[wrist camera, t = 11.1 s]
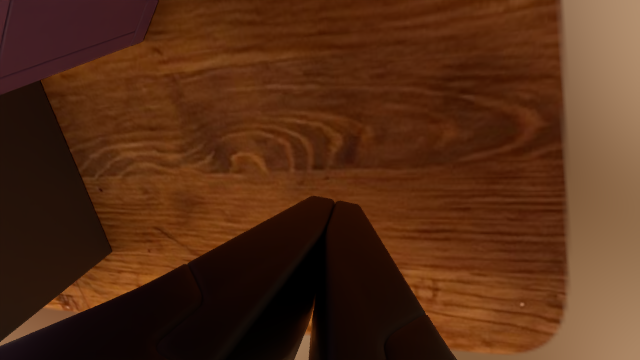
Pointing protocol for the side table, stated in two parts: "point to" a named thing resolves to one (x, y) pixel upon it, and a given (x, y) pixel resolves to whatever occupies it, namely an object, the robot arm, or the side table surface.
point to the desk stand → (40, 210)
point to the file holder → (66, 35)
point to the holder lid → (3, 15)
